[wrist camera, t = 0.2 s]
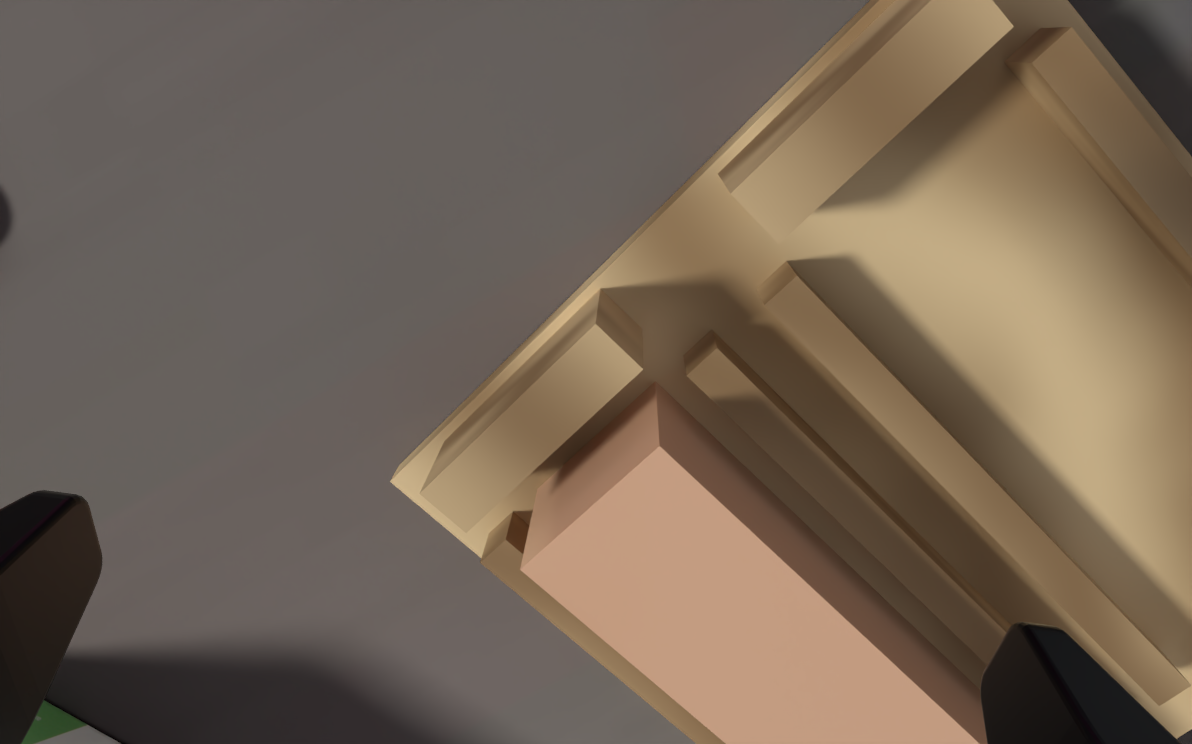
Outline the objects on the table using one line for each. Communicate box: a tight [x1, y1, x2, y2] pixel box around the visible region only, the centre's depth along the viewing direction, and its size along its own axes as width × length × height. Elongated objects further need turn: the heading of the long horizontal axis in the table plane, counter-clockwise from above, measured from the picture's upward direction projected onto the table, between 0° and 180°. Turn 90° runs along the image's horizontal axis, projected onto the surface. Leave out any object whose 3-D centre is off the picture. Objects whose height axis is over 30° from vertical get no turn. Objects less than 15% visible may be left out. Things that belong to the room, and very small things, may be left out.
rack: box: [390, 0, 1192, 744], centre depth 23 cm, size 20×22×4 cm
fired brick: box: [520, 381, 987, 744], centre depth 24 cm, size 4×16×4 cm, turn 45°
